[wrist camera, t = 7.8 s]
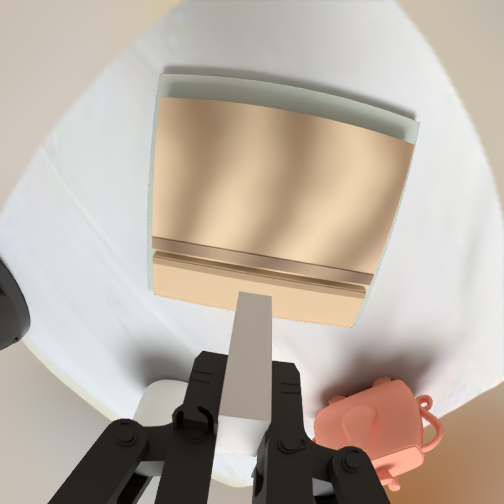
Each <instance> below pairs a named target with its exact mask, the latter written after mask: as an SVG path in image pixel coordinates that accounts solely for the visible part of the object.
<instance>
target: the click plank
mask: <svg viewBox="0 0 504 504" xmlns="http://www.w3.org/2000/svg"><path fill="white" fill-rule="evenodd" d="M414 145H415V144H412V143H409V142H406V141H403V140H400V139H397V138H394V137H391V136H388V135H385V134H381V133H378V132H375V131H372V130H368V129H365V128H361V127H357V126H354V125H350V124H346V123H342V122H338V121H334V120H330V119H326V118H321V117H317V116H312V115H308V114H303V113H298V112H293V111H287V110H282V109H276V108H270V107H264V106H257V105H250V104H242V103H234V102H225V101H215V100H204V99H190V98H171V97H160V102H159V111H158V121H157V132H156V145H155V160H154V179H153V215H152V248H153V250H156V251H161V252H167V253H172V254H178V255H183V256H189V257H194V258H200V259H206V260H211V261H217V262H222V263H228V264H234V265H240V266H245V267H251V268H257V269H263V270H269V271H275V272H281V273H287V274H293V275H299V276H305V277H311V278H317V279H323V280H329V281H335V282H342V283H348V284H354V285H361V286H367V287H369V285H370V284H371V282H372V279H373V277H374V273H375V270H376V267H377V265H378V262H379V259H380V257H381V254H382V251H383V249H384V246H385V243H386V240H387V237H388V234H389V232H390V229H391V226H392V223H393V220H394V217H395V213H396V210H397V207H398V204H399V201H400V197H401V194H402V190H403V187H404V183H405V180H406V176H407V173H408V169H409V165H410V161H411V157H412V153H413V149H414Z"/></svg>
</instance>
